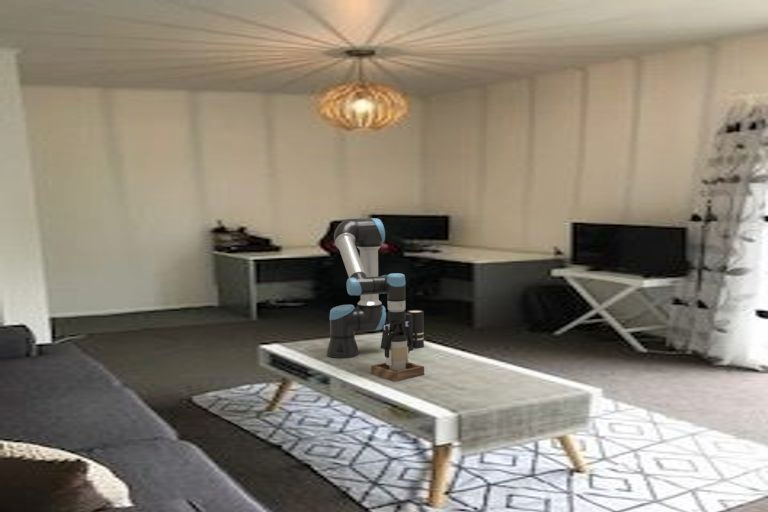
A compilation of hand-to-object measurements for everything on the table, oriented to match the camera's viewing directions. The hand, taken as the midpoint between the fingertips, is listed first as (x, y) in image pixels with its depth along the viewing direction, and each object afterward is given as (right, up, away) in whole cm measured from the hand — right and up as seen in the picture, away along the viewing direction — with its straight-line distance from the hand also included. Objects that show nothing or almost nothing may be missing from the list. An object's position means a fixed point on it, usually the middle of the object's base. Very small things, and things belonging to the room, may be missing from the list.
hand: (397, 363), depth 294 cm
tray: (0, -5, 0) cm, 5 cm away
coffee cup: (0, -3, 0) cm, 3 cm away
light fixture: (+8, 0, +50) cm, 51 cm away
